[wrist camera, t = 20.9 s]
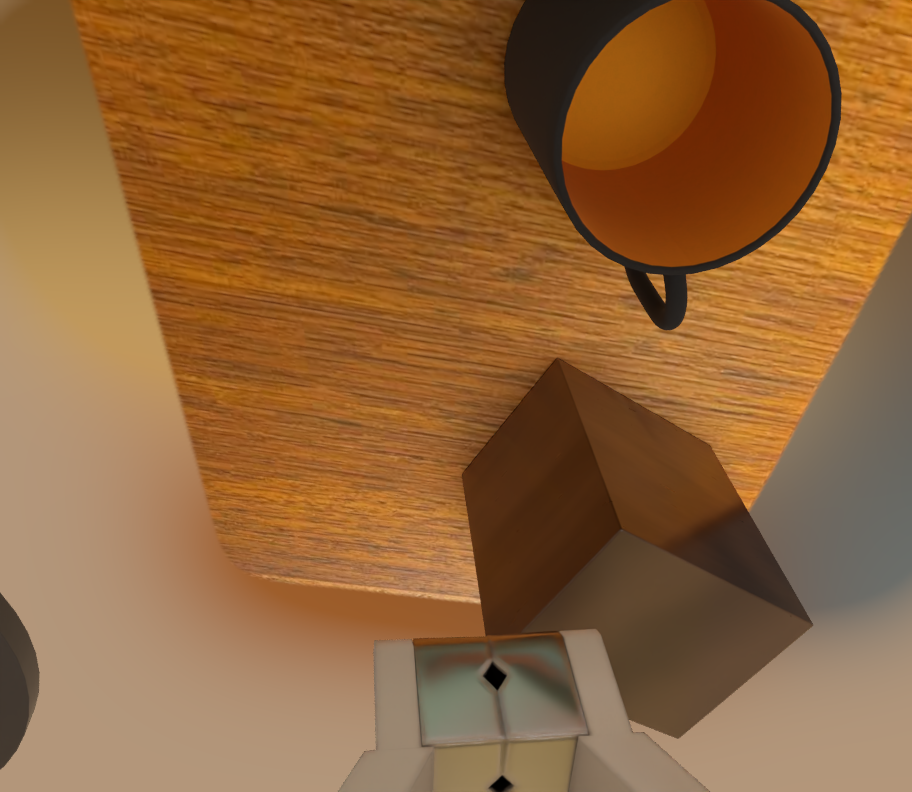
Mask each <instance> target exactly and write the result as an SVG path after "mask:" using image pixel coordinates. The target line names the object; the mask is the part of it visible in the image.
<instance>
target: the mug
mask: <svg viewBox="0 0 912 792" xmlns="http://www.w3.org/2000/svg"><path fill="white" fill-rule="evenodd" d="M504 69H505V88H506V93H507V98H508V103H509V106H510V108H511V111H512V114H513V116H514V119H515V121H516V123H517V125H518V127H519V128H520V130H521V132H522V134H523V136H524V138H525V139H526V141H527V143H528V145H529V147H530V149H531V150H532V152H533V154H534V156H535V158H536V159H537V161H538V163H539V165H540V167H541V169H542V170H543V172H544V174H545V176H546V178H547V179H548V181H549V183H550V185H551V187H552V189H553V190H554V192H555V194H556V196H557V197H558V199H559V201H560V203H561V204H562V206H563V208H564V210H565V211H566V213H567V215H568V216H569V218H570V220H571V221H572V223H573V225H574V226H575V228H576V230H577V231H578V232H579V233H580V234H581V235H582V236H583V237H584V238H585V240H586V241H587V242H588V243H589V244H590V245H591V246H592V247H594V248H595V249H596V250H598V251H599V252H600V253H602V254H603V255H604V256H606V257H607V258H608V259H611V260H613V261H615V262H617V263H619V264H621V265H623V266H624V267H625V270H626V273H627V276H628V279H629V282H630V284H631V286H632V288H633V290H634V292H635V294H636V295H637V297H638V299H639V300H640V302H641V304H642V305H643V307H644V309H645V310H646V312H647V314H648V315H649V317H650V318H651V320H652V321H653V322H654V324H655V325H657V326H658V327H659V328H661V329H663V330H673V329H675V328H676V327H678V326H679V325H680V324H681V322H682V321H683V318H684V316H685V312H686V307H687V283H686V274H694V273H698V272H702V271H707V270H711V269H715V268H718V267H721V266H723V265H726V264H728V263H731V262H733V261H736V260H738V259H740V258H742V257H744V256H745V255H747V254H749V253H751V252H752V251H754V250H756V249H758V248H759V247H761V246H762V245H764V244H765V243H766V242H767V241H769V240H770V239H771V238H773V237H774V236H775V235H776V234H778V233H779V232H780V231H781V230H782V229H783V228H784V227H785V226H786V225H787V224H788V223H789V222H790V221H791V220H792V219H793V218H794V217H795V216H796V215H797V214H798V213H799V212H800V210H801V209H802V208H803V206H804V205H805V204H806V202H807V201H808V199H809V198H810V197H811V195H812V194H813V193H814V191H815V189H816V187H817V186H818V184H819V182H820V180H821V178H822V176H823V175H824V173H825V171H826V169H827V166H828V164H829V161H830V158H831V156H832V153H833V150H834V147H835V145H836V140H837V135H838V130H839V125H840V120H841V87H840V80H839V74H838V68H837V65H836V62H835V59H834V56H833V54H832V51H831V48H830V45H829V44H828V42H827V40H826V39H825V37H824V35H823V34H822V32H821V31H820V29H819V27H818V26H817V24H816V23H815V22H814V21H813V20H812V19H811V18H810V17H809V16H808V15H807V14H806V13H805V12H804V11H803V10H802V9H801V8H800V7H799V6H798V5H796V4H795V3H793V2H792V1H790V0H526V1H525V3H524V4H523V6H522V8H521V10H520V12H519V14H518V16H517V18H516V20H515V22H514V24H513V27H512V30H511V34H510V37H509V40H508V43H507V50H506V56H505V63H504ZM646 273H650V274H662V275H663V276H664V283H665V292H666V302H665V303H664V301H663V300H662V298H661V297H660V295H659V294H658V292H657V291H656V289H655V288H654V286H653V285H652V283H651V282H650V280H649V278H648V276H647V274H646Z"/></svg>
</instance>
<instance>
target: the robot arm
mask: <svg viewBox="0 0 912 792" xmlns="http://www.w3.org/2000/svg"><path fill="white" fill-rule="evenodd" d="M374 691H375V731H376V750H370V751H364V753H363V754H362V756H361V757H360V759H359V760H358V762H357V763H356V765H355V766H354V768H353V770H352V771H351V773H350V774H349V775H348V777H347V779H346V780H345V782H344V783H343V785H342V786H341V788H340V789H339V791H338V792H710V791H709V790H708V789H707V788H706V787H705V786H703V785H702V784H701V783H700V782H699V781H698V780H697V779H696V778H694V777H693V776H692V775H691V774H690V773H689V772H688V771H687V770H685V769H684V768H683V767H682V766H681V765H680V764H679V763H678V762H677V761H676V760H674V759H673V758H672V757H671V756H670V755H669V754H668V753H667V752H666V751H664V750H663V749H662V748H661V747H660V746H659V745H658V744H656V742H654V741H653V740H652V739H651V738H650V737H649V736H648V735H647V734H645V733H644V732H635V733H634V732H633V731H632V728H631V725H630V722H629V719H628V716H627V713H626V710H625V707H624V704H623V701H622V698H621V695H620V692H619V688H618V685H617V682H616V679H615V676H614V673H613V670H612V667H611V664H610V661H609V658H608V655H607V652H606V649H605V645H604V642H603V639H602V636H601V634H600V633H599V632H598V631H597V630H596V629H584V630H567V631H559V632H558V631H544V632H529V633H514V634H499V635H486V636H485V637H452V638H419V639H418V638H417V639H413V641H412V639H400V640H375V642H374Z"/></svg>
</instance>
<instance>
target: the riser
mask: <svg viewBox="0 0 912 792" xmlns="http://www.w3.org/2000/svg"><path fill="white" fill-rule="evenodd" d="M462 479H463V486H464V493H465V499H466V506H467V513H468V519H469V526H470V533H471V540H472V546H473V553H474V560H475V567H476V573H477V580H478V587H479V594H480V600H481V607H482V614H483V620H484V627H485V634H486V635H499V634H514V633H529V632H544V631H558V632H559V631H567V630H584V629H596V630H597V631H598V632H599V633H600V634H601V636H602V639H603V642H604V645H605V649H606V652H607V655H608V658H609V661H610V664H611V667H612V670H613V673H614V676H615V679H616V682H617V685H618V688H619V692H620V695H621V698H622V701H623V704H624V707H625V710H626V713H627V716H628V719H629V720H631V721H634V722H636V723H639V724H641V725H644V726H646V727H649V728H652V729H654V730H657V731H659V732H662V733H664V734H667V735H669V736H672V737H674V738H677V739H678V738H680V737H681V736H682V735H684V734H685V733H686V732H687V731H688V730H690V729H691V728H692V727H693V726H694V725H695V724H697V723H698V722H699V721H700V720H702V719H703V718H704V717H705V716H706V715H707V714H709V713H710V712H711V711H712V710H713V709H715V708H716V707H717V706H718V705H719V704H720V703H722V702H723V701H724V700H725V699H726V698H728V697H729V696H730V695H731V694H732V693H734V692H735V691H736V690H737V689H738V688H740V687H741V686H742V685H743V684H744V683H746V682H747V681H748V680H749V679H750V678H751V677H753V676H754V675H755V674H756V673H757V672H759V671H760V670H761V669H762V668H763V667H765V666H766V665H767V664H768V663H769V662H771V661H772V660H773V659H774V658H775V657H777V656H778V655H779V654H780V653H781V652H782V651H784V650H785V649H786V648H787V647H788V646H790V645H791V644H792V643H793V642H794V641H796V640H797V639H798V638H799V637H800V636H802V635H803V634H804V633H805V632H806V631H807V630H809V629H810V628H811V627H812V626H813V623H812V622H811V620H810V618H809V617H808V615H807V613H806V611H805V610H804V608H803V606H802V605H801V603H800V601H799V599H798V597H797V596H796V594H795V592H794V590H793V589H792V587H791V585H790V584H789V582H788V580H787V578H786V577H785V575H784V573H783V571H782V570H781V568H780V566H779V565H778V563H777V561H776V560H775V558H774V556H773V554H772V553H771V551H770V549H769V547H768V545H767V544H766V542H765V540H764V539H763V537H762V535H761V533H760V531H759V530H758V528H757V526H756V524H755V523H754V521H753V519H752V518H751V516H750V514H749V512H748V511H747V509H746V507H745V505H744V504H743V502H742V500H741V498H740V497H739V495H738V493H737V492H736V490H735V488H734V486H733V485H732V483H731V481H730V479H729V478H728V476H727V474H726V472H725V471H724V469H723V467H722V465H721V464H720V462H719V460H718V459H717V457H716V455H715V453H714V452H713V450H712V448H711V446H710V445H708V444H706V443H704V442H703V441H701V440H699V439H698V438H696V437H694V436H692V435H691V434H689V433H687V432H685V431H684V430H682V429H680V428H678V427H677V426H675V425H673V424H671V423H670V422H668V421H666V420H665V419H663V418H661V417H659V416H658V415H656V414H654V413H652V412H651V411H649V410H647V409H645V408H644V407H642V406H640V405H638V404H637V403H635V402H633V401H631V400H630V399H628V398H626V397H625V396H623V395H621V394H619V393H618V392H616V391H614V390H612V389H611V388H609V387H607V386H605V385H604V384H602V383H600V382H598V381H597V380H595V379H593V378H591V377H590V376H588V375H586V374H585V373H583V372H581V371H579V370H578V369H576V368H574V367H572V366H571V365H569V364H567V363H565V362H564V361H562V360H560V359H558V358H557V359H556V360H555V362H554V363H553V364H552V365H551V366H550V368H549V369H548V370H547V371H546V373H545V374H544V375H543V376H542V377H541V379H540V380H539V381H538V382H537V384H536V385H535V386H534V387H533V388H532V390H531V391H530V392H529V393H528V395H527V396H526V397H525V398H524V399H523V401H522V402H521V403H520V404H519V406H518V407H517V408H516V409H515V410H514V412H513V413H512V414H511V415H510V417H509V418H508V419H507V420H506V421H505V423H504V424H503V425H502V426H501V428H500V429H499V430H498V431H497V432H496V434H495V435H494V436H493V437H492V439H491V440H490V441H489V442H488V443H487V445H486V446H485V447H484V448H483V450H482V451H481V452H480V453H479V454H478V456H477V457H476V458H475V459H474V461H473V462H472V463H471V464H470V465H469V467H468V468H467V469H466V470H465V472H464V473H463V474H462Z"/></svg>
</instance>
